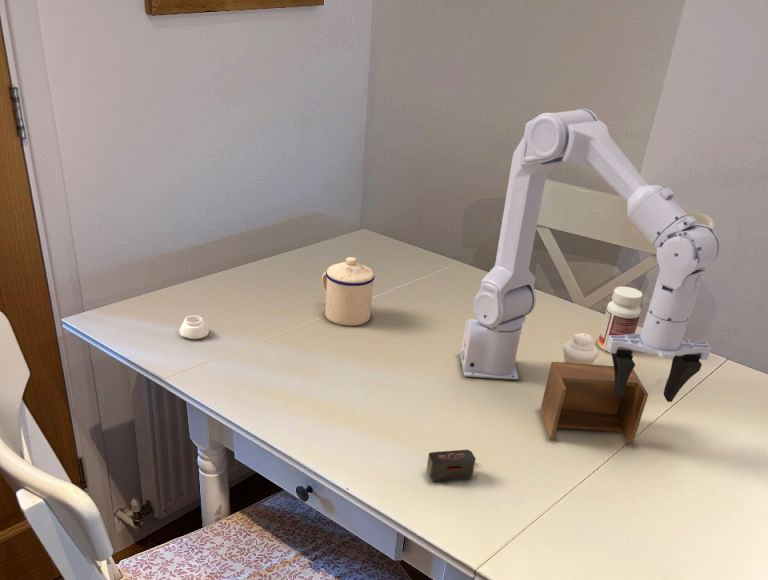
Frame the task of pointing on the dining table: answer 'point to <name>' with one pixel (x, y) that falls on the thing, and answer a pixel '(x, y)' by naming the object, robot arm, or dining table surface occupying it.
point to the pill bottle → (621, 314)
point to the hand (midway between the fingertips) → (642, 396)
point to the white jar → (193, 328)
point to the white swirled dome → (580, 350)
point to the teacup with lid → (348, 292)
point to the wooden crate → (591, 400)
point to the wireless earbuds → (450, 465)
